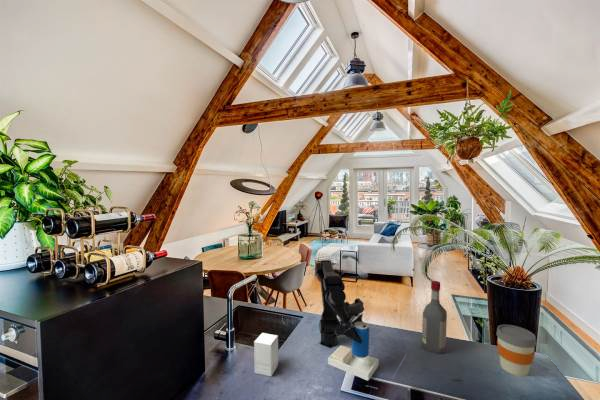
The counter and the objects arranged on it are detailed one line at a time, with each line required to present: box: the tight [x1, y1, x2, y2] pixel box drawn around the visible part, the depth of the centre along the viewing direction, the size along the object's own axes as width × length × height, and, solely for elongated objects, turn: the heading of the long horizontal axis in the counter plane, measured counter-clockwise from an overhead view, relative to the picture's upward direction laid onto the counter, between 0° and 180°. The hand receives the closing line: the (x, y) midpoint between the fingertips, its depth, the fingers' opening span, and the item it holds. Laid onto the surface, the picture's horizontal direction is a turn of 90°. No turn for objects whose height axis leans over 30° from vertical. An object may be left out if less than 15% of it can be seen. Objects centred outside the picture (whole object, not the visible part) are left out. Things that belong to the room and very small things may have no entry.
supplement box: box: [253, 332, 279, 377], centre depth 112 cm, size 7×7×13 cm
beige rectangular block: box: [331, 345, 352, 364], centre depth 117 cm, size 5×8×4 cm, turn 145°
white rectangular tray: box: [327, 345, 380, 381], centre depth 114 cm, size 17×11×3 cm, turn 55°
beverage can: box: [351, 321, 370, 358], centre depth 112 cm, size 6×6×12 cm
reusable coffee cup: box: [496, 324, 537, 377], centre depth 113 cm, size 13×12×15 cm
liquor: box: [421, 280, 448, 355], centre depth 127 cm, size 9×9×30 cm
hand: (364, 338), depth 111 cm, fingers closed on beverage can, 6 cm apart
